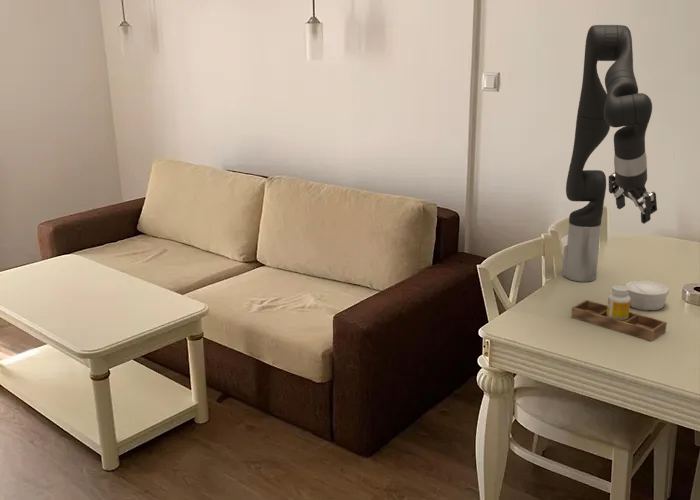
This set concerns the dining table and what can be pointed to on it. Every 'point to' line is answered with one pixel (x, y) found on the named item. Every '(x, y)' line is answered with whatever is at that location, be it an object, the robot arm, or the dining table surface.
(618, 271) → the dining table surface
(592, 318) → the wooden compartment tray
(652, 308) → the ramekin
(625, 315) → the supplement bottle
